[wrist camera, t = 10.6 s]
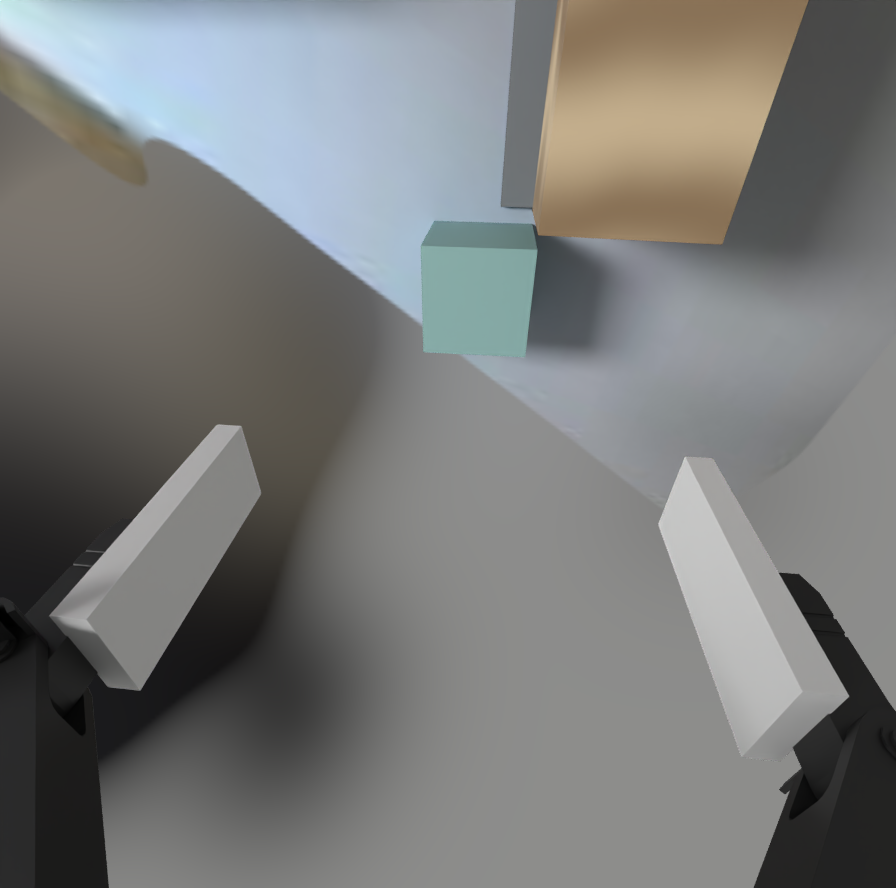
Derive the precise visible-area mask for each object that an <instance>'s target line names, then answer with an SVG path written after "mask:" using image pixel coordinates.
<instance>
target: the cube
mask: <svg viewBox="0 0 896 888" xmlns="http://www.w3.org/2000/svg"><path fill="white" fill-rule="evenodd" d="M536 259H537V245H536V240H535V235H534V231H533V226H532V224H516V223H483V222H450V221H434V223H433V224H432V226H431V228H430V230H429V232H428V234H427V235H426V237H425V239H424V241H423V243H422V245H421V274H422V314H423V352H433V353H452V354H453V353H454V354H472V355H492V356H512V357H525V354H526V345H527V336H528V328H529V319H530V311H531V302H532V293H533V285H534V276H535V267H536Z"/></svg>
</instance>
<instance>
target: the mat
mask: <svg viewBox="0 0 896 888" xmlns="http://www.w3.org/2000/svg"><path fill="white" fill-rule="evenodd" d="M557 1H558V0H516V5H515V19H514V33H513V46H512V60H511V73H510V87H509V100H508V114H507V128H506V141H505V155H504V168H503V182H502V196H501V207H529V208H533V200H534V192H535V184H536V175H537V167H538V159H539V151H540V142H541V134H542V126H543V117H544V109H545V101H546V93H547V84H548V76H549V68H550V59H551V51H552V43H553V34H554V26H555V18H556V10H557Z"/></svg>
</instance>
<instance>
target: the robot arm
mask: <svg viewBox="0 0 896 888" xmlns="http://www.w3.org/2000/svg"><path fill="white" fill-rule="evenodd" d="M260 495H261V491H260V487H259V484H258V481H257V477H256V474H255V471H254V467H253V464H252V461H251V457H250V454H249V450H248V447H247V444H246V440H245V437H244V434H243V430H242V427H241V426H231V425H216V426H215V428H214V429H213V430H212V431H211V432H210V433H209V434H208V436H207V437H206V438H205V439H204V440H203V441H202V442H201V444H200V445H199V446H198V447H197V448H196V449H195V450H194V452H193V453H192V454H191V455H190V456H189V457H188V458H187V460H186V461H185V462H184V463H183V464H182V465H181V466H180V468H179V469H178V470H177V471H176V472H175V473H174V474H173V475H172V477H171V478H170V479H169V480H168V481H167V482H166V484H164V486H163V487H162V488H161V489H160V490H159V492H157V494H156V495H155V496H154V497H153V498H152V499H151V500H150V502H149V503H148V504H147V505H146V506H145V507H144V508H143V510H142V511H141V512H140V513H139V514H138V515H137V516H136V518H135V519H121V520H120V521H119V522H117V523H115V524H114V525H112V526H111V527H109V528H108V529H106V530H105V531H103V532H102V533H101V534H100V535H99V536H98V537H97V538H96V539H95V540H94V541H93V542H92V543H91V545H90V546H89V547H88V548H87V549H86V552H85V553H82V554H81V555H80V556H79V557H78V559H77V560H76V561H75V562H74V563H73V566H72V567H69V568H68V569H67V570H66V572H65V573H64V574H63V575H62V576H61V577H60V578H59V579H58V580H57V581H56V582H55V583H54V584H53V586H52V587H51V588H50V589H49V590H48V591H47V592H46V593H45V594H44V595H43V596H42V598H40V600H39V601H38V602H37V603H36V604H35V605H34V606H33V607H32V608H31V609H30V610H29V612H28V613H27V614H26V615H25V616H24V615H23V614H22V612H21V611H20V610H19V609H18V608H17V607H16V606H15V604H14V603H13V602H12V601H9V600H7V599H5V598H0V888H109V884H108V874H107V861H106V851H105V838H104V827H103V815H102V805H101V793H100V782H99V770H98V758H97V747H96V735H95V724H94V712H93V702H92V695H91V693H90V690H89V688H88V686H89V685H90V683H91V682H92V680H93V679H94V677H95V676H96V675H97V674H98V675H99V677H100V678H101V679H102V680H103V681H104V682H105V684H106V685H107V686H108V687H113V688H122V689H131V690H141V688H142V687H143V685H144V683H145V681H146V680H147V678H148V677H149V675H150V674H151V672H152V670H153V668H154V667H155V665H156V663H157V662H158V661H159V659H160V657H161V656H162V654H163V652H164V651H165V649H166V647H167V646H168V644H169V642H170V641H171V639H172V638H173V636H174V635H175V633H176V631H177V630H178V628H179V626H180V625H181V623H182V622H183V620H184V618H185V617H186V615H187V613H188V612H189V610H190V609H191V607H192V605H193V603H194V602H195V600H196V599H197V597H198V596H199V594H200V592H201V590H202V589H203V587H204V586H205V584H206V583H207V581H208V579H209V578H210V576H211V574H212V573H213V571H214V569H215V568H216V566H217V564H218V563H219V561H220V560H221V558H222V556H223V555H224V553H225V552H226V550H227V548H228V547H229V545H230V543H231V542H232V540H233V539H234V537H235V535H236V534H237V532H238V530H239V529H240V527H241V526H242V524H243V522H244V520H245V519H246V517H247V516H248V514H249V513H250V511H251V509H252V508H253V506H254V504H255V503H256V501H257V500H258V498H259V496H260ZM658 525H659V528H660V531H661V534H662V536H663V539H664V542H665V545H666V548H667V550H668V553H669V556H670V559H671V562H672V564H673V567H674V570H675V573H676V576H677V578H678V581H679V584H680V587H681V589H682V592H683V595H684V597H685V601H686V603H687V606H688V609H689V612H690V615H691V618H692V620H693V623H694V626H695V629H696V632H697V634H698V637H699V640H700V643H701V646H702V648H703V651H704V654H705V657H706V659H707V662H708V665H709V668H710V671H711V673H712V676H713V679H714V682H715V685H716V688H717V690H718V693H719V696H720V699H721V702H722V704H723V707H724V710H725V713H726V716H727V718H728V721H729V724H730V727H731V729H732V732H733V735H734V738H735V741H736V744H737V746H738V749H739V752H740V754H741V757H743V758H753V759H762V760H771V761H781V760H782V759H783V758H784V757H785V756H786V755H788V754H789V753H790V752H791V751H792V750H793V749H794V751H795V754H796V756H797V758H798V761H799V763H800V765H801V767H802V768H801V769H800V770H799V771H798V772H797V773H795V774H794V775H793V776H792V777H791V778H790V779H789V780H788V781H786V782H785V783H784V784H783V786H782V787H781V788H780V789H779V790H780V791H781V792H783V793H784V794H786V793H787V792H788V791H790V792H789V795H788V797H787V800H786V803H785V806H784V808H783V811H782V813H781V816H780V819H779V821H778V824H777V827H776V829H775V832H774V835H773V837H772V840H771V843H770V845H769V848H768V851H767V853H766V856H765V859H764V861H763V864H762V867H761V869H760V872H759V875H758V877H757V880H756V883H755V886H754V888H896V711H895V710H894V709H893V707H892V706H891V705H890V703H889V702H888V700H887V699H886V697H885V696H884V694H883V692H882V691H881V689H880V688H879V686H878V684H877V683H876V681H875V680H874V678H873V677H872V675H871V673H870V672H869V670H868V669H867V667H866V666H865V664H864V662H863V661H862V659H861V658H860V656H859V654H858V653H857V651H856V650H855V648H854V646H853V645H852V644H851V642H850V640H849V639H848V637H845V635H844V633H845V632H844V631H843V629H842V628H841V626H840V624H839V623H838V621H837V620H836V619H834V618H833V613H832V612H831V610H830V609H829V607H828V605H827V604H826V602H825V601H824V599H823V598H822V596H821V594H820V593H819V592H818V591H817V590H816V589H814V588H813V587H812V586H811V585H810V584H809V583H808V582H807V581H806V580H805V579H804V578H803V577H801V576H800V575H799V574H788V573H778V571H777V569H776V568H775V566H774V564H773V562H772V561H771V559H770V557H769V556H768V554H767V552H766V550H765V548H764V547H763V545H762V543H761V541H760V540H759V538H758V536H757V535H756V533H755V531H754V529H753V528H752V526H751V524H750V522H749V521H748V519H747V517H746V515H745V514H744V512H743V510H742V508H741V507H740V505H739V503H738V502H737V500H736V498H735V496H734V494H733V493H732V491H731V489H730V487H729V486H728V484H727V482H726V480H725V479H724V477H723V475H722V473H721V472H720V470H719V468H718V467H717V465H716V463H715V461H714V460H713V458H699V457H685V458H684V461H683V463H682V466H681V468H680V471H679V473H678V476H677V478H676V481H675V483H674V486H673V488H672V491H671V493H670V496H669V498H668V501H667V504H666V506H665V509H664V511H663V514H662V516H661V519H660V521H659V524H658Z"/></svg>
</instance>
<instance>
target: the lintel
mask: <svg viewBox="0 0 896 888" xmlns="http://www.w3.org/2000/svg"><path fill="white" fill-rule="evenodd" d="M808 1H809V0H558V1H557V10H556V18H555V26H554V34H553V43H552V51H551V59H550V68H549V76H548V84H547V93H546V101H545V109H544V117H543V126H542V134H541V142H540V151H539V159H538V167H537V175H536V184H535V192H534V200H533V209H532V211H533V215H534V219H535V224H536V228H537V232H538V235H543V236H563V237H583V238H603V239H623V240H642V241H662V242H682V243H702V244H723V241H724V238H725V235H726V232H727V229H728V227H729V224H730V221H731V218H732V215H733V213H734V210H735V207H736V204H737V201H738V198H739V196H740V193H741V190H742V187H743V184H744V181H745V179H746V176H747V173H748V170H749V167H750V164H751V162H752V159H753V156H754V153H755V150H756V148H757V145H758V142H759V139H760V136H761V133H762V131H763V128H764V125H765V122H766V119H767V116H768V114H769V111H770V108H771V105H772V102H773V99H774V97H775V94H776V91H777V88H778V85H779V83H780V80H781V77H782V74H783V71H784V68H785V66H786V63H787V60H788V57H789V54H790V51H791V49H792V46H793V43H794V40H795V37H796V35H797V32H798V29H799V26H800V23H801V20H802V18H803V15H804V12H805V9H806V6H807V3H808Z"/></svg>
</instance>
